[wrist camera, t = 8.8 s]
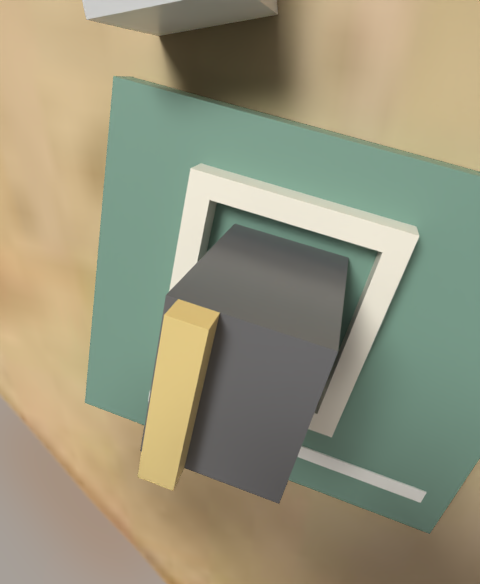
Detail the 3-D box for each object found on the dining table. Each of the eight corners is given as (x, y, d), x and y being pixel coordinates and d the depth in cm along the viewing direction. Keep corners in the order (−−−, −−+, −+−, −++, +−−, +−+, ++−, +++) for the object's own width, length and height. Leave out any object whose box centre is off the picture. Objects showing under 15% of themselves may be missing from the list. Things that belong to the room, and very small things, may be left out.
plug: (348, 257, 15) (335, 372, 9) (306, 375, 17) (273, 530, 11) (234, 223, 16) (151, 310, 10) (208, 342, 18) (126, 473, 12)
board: (616, 208, 14) (657, 229, 12) (426, 510, 20) (432, 555, 18) (130, 76, 16) (97, 75, 14) (98, 387, 22) (72, 416, 20)
